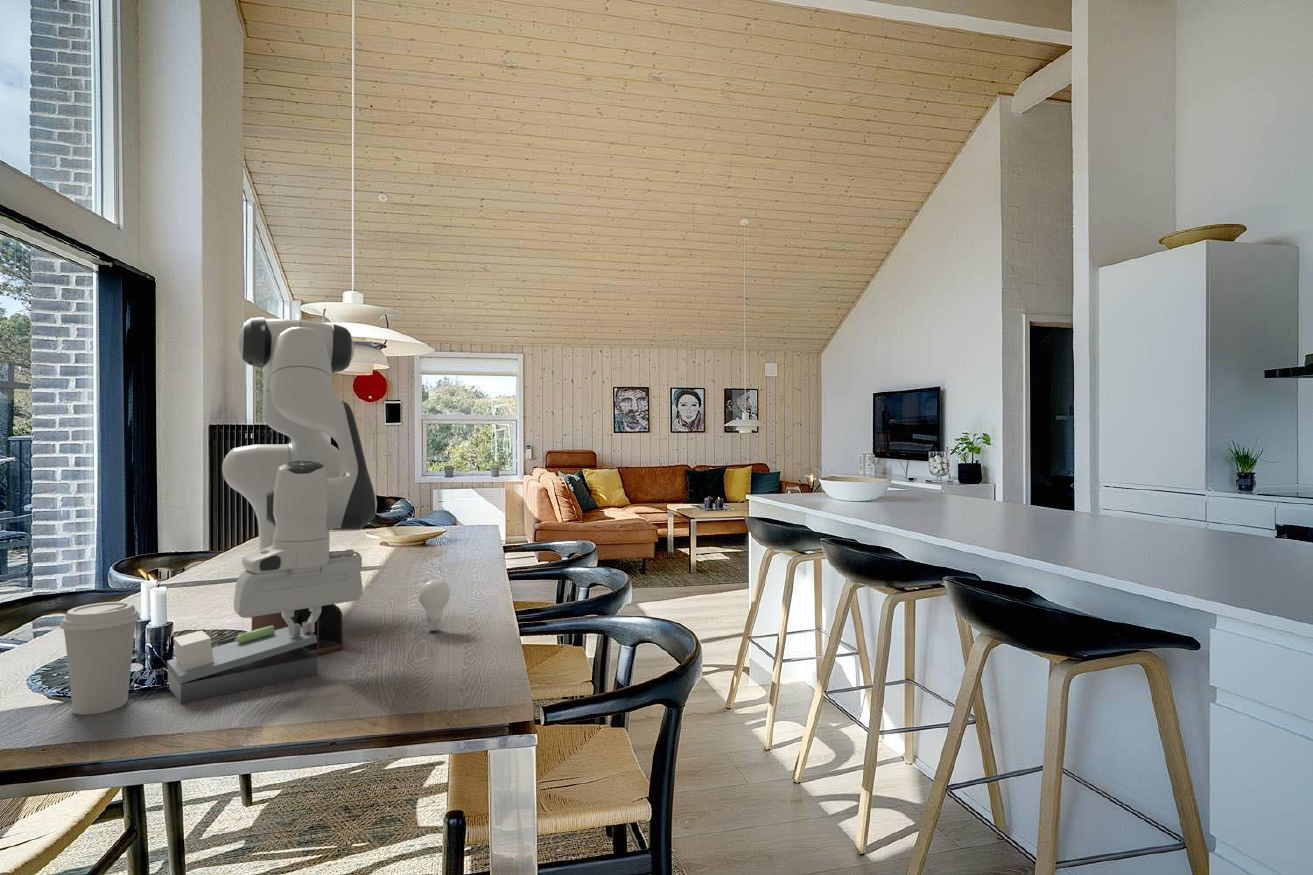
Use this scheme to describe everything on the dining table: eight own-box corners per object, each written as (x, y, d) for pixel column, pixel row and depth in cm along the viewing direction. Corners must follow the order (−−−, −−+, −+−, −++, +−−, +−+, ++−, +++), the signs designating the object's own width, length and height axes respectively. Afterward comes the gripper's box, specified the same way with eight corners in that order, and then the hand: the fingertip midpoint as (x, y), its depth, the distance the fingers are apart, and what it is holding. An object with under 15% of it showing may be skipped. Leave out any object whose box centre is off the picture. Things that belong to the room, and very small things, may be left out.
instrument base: (167, 686, 115) (167, 668, 115) (298, 660, 129) (298, 643, 129) (180, 703, 108) (180, 684, 108) (317, 673, 122) (317, 656, 122)
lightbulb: (411, 633, 147) (412, 581, 147) (432, 626, 153) (432, 575, 153) (436, 637, 145) (436, 583, 145) (456, 629, 151) (456, 577, 150)
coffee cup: (74, 724, 100) (75, 619, 100) (48, 709, 105) (49, 609, 105) (151, 702, 108) (151, 605, 108) (123, 690, 114) (123, 597, 113)
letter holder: (289, 662, 129) (290, 585, 129) (250, 640, 142) (250, 570, 142) (344, 650, 136) (344, 577, 136) (302, 630, 149) (302, 564, 149)
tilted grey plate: (167, 667, 115) (163, 637, 115) (298, 630, 129) (294, 602, 129) (180, 683, 108) (176, 650, 108) (317, 642, 122) (313, 613, 122)
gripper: (355, 546, 132) (354, 619, 132) (231, 559, 118) (230, 641, 118) (368, 550, 128) (368, 626, 128) (241, 564, 114) (241, 649, 114)
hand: (301, 633), depth 123 cm, fingers closed
